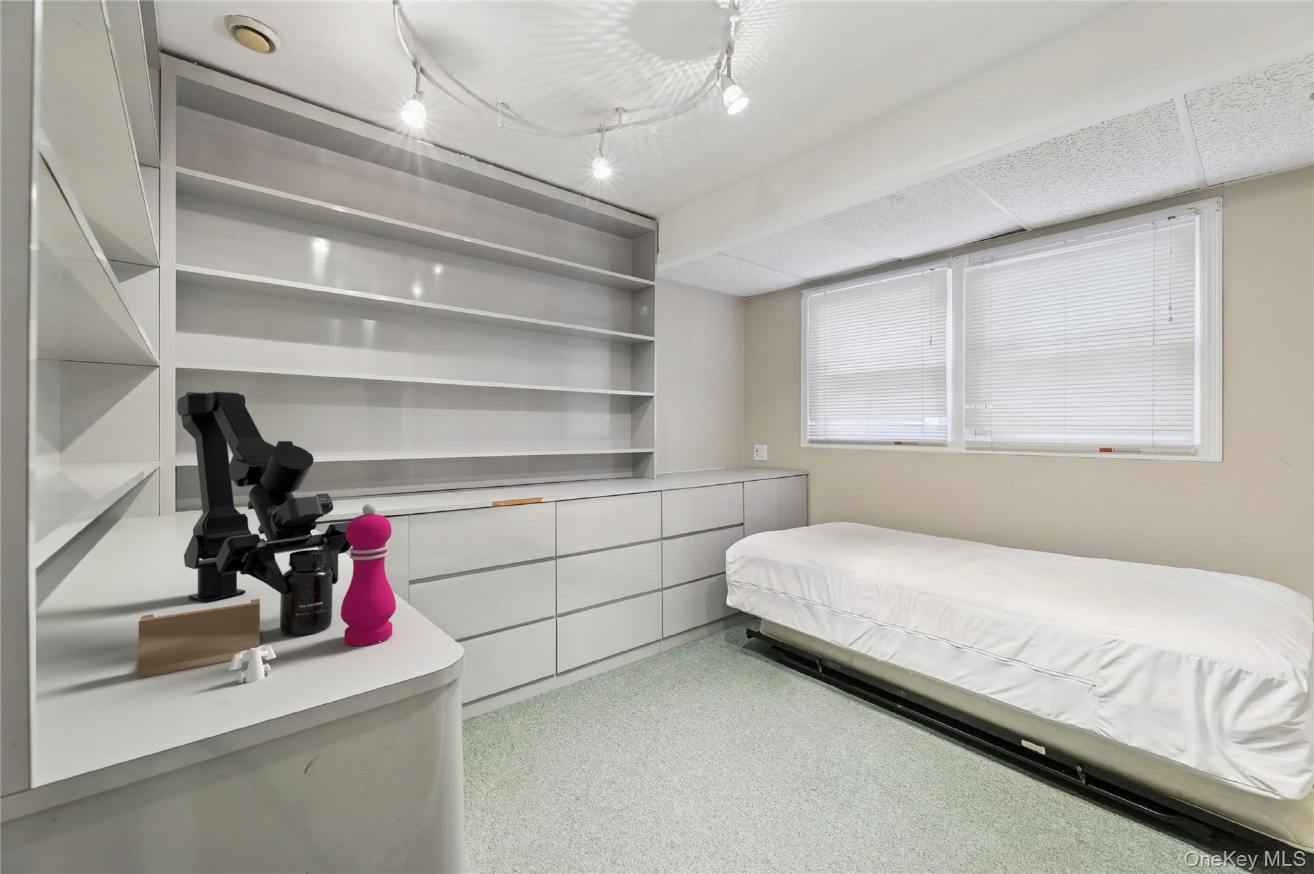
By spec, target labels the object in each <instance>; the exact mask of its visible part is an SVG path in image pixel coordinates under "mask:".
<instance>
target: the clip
mask: <svg viewBox="0 0 1314 874" xmlns="http://www.w3.org/2000/svg"><path fill="white" fill-rule="evenodd" d="M262 657H263V660H266V661H269V660H272V659H275V658H277V655H276V653H275V652H274V649H273V648H272V645H270V644H269V645H260V647H257V648H251V649H250V650H246V651H241V652H240V653H238V654H235V655H234V657H233V659H232V660H231V662H230V664H229V666H228V669H227V671H234V670H238V669H241V668H242V665H243V664H242V663H244V662H247V661H248V664H247V669H246V670H244V671H242V670H238V673H237V674H236V675H237V676H236V680H237V681H239V683H240V684H242V683H243V682H244V677H245V682H244V683H255V682H258V681H261V680H263V679H265V675H266V676H268V675H269V674H270V671H271V666H270V664H269V663H268V662H265V663H263V660H262Z"/></svg>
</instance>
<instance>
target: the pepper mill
mask: <svg viewBox="0 0 1314 874" xmlns="http://www.w3.org/2000/svg"><path fill="white" fill-rule="evenodd" d="M376 511H377V507H376V506H375V504H373V503H366V504H364V506H363V507H362V513H363V514H361V515H358V516H356V517H354V518H353V519H351V520H350V521H349V522H350V523H349V524H348V526H347V529H346V539H347V541H348V542H349V543H350V544H351V545H352V546H351V548H350V549H349V552H350V555H349V558H350V559H351V560H352V564H353V565H352V566H353V569H352V575H351V576H352V577H351V581H350V584H349V586H348V588H347V591H346V593H345V596H344V598H343V600H342V604H341V606H340V618H341V620H342V621H343V623H345V624H346V625H347V627H346V628H345V629H344V631H343V632H344V636H343V637H344V641H343V642H344V643H345V644H346V645H347V646H350V645H352V646H351V647H361V646H360V645H366V646H371V645H370V644H373V643H377V642H379V641H383V640H385V641H387V640H388V639H387V638H389V637H390V636H391V637H392V636H393V623H392V621H391V620H390V619H391V618H392V616H393V615H394V614H395V612H396V608H397V603H396V602H397V601H396V597H395V594H394V591H393V590H392V589H393V588H391V585H390V583H389V581H388V579H387V575H386V568H385V559H386V557H387V556H388V554H389V552H388V548H389V546H388V545H386V543H387V541H389V539H390V538H391V536H392V531H393V530H392V529H393V528H392V524H391V522H390V520H389V519H388V518H387V517H385V516H383V515H381V514H378V513H376ZM391 637H390V638H391ZM390 638H389V639H390ZM386 639H387V640H386ZM383 642H384V641H383ZM377 644H378V643H377ZM373 645H374V644H373Z"/></svg>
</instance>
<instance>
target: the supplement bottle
mask: <svg viewBox="0 0 1314 874" xmlns="http://www.w3.org/2000/svg"><path fill="white" fill-rule="evenodd" d="M288 559H289V562H288V566H289V567H290V569H288V570H286V571H285V572H284V573H282V574H283V576H284V578H285V581H286V583H287V586H288V590H289V591H288V593H287V595H282V594H281V593H280V597H279V598H280V605H279V631H280V633H281V634H282V635H284V636H290V637H292V636H293V637H296V636H306V635H307V636H308V635H312V634H316V633H320V632H322V631H324V630H327V629H328V628H330V626H331V625H332V621H333V619H332V618H333V591H334V589H333V586H334V584H333V573H332V571H331V569H330V568H328V567H326V566H324V563H326V551H325V550H319V549H304V550H298V551H292V552H289V558H288Z"/></svg>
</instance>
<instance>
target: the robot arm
mask: <svg viewBox="0 0 1314 874" xmlns="http://www.w3.org/2000/svg"><path fill="white" fill-rule="evenodd" d="M176 411H177V414H178V416H180V418H181V424H182V428H183V429H184V430H185V431H187V433H188V434H189V435H190V436H191V437H192V438H193V439H194V442H195V449H196V450H195V451H196V460H197V468H198V469H197V471H198V481H199V490H200V498H201V508H202V509H201V510H202V514H201V516H200V517H199V519H198V520H197V522H196V523H195V525H194V526H193V528H192V536H191V539H190V540H189V543H188V545H187V547H186V549H185V551H184V554H183V560H184V567H186V568H190V569H193V570H197V592H196V593H193V594H189V595H187V599H191V600H196V601H200V602H206V603H207V602H213V601H217V600H221V599H225V598H230V597H235V596H239V595H243V594H246V590H245V589H239V588H237V587H238V572H239V574H240V575H243V576H245V575H249V576H251V577H252V578H255V579H256V580H258V581H261V582H262V583H264V584H265V585H267V586H269V587H271V588H272V589H274V590H275V591H276V592H278V593H279V594H280V595H281V594H282V595H287V593H288V591H289V590H288V586H287V583H286V581H285V578H284V576H283V574H284V573H282V570H281V569H280V566H279V564H278V562H277V560H276V555H278V554H284V553H292V552H297V551H303V550H311V549H315V548H317V550H325V551H326V563H324V566H326V567H328V568H330V569H331V571H332V573H333V585H336V584H337V583H338V581H339V555H340V554H345V553H347V552H348V551H350V549H351V548H352V545H351V544H350V543H349V542H348V541H347V539H346V529H347V526H348V524H349V523H350V522H351V521H345V522H336V523H335V522H334V523H329V525H328V527H327V529H325V532H324V533H319V534H312V530H313V531H314V530H315V529H316V527H317V525H318V524H317V520H318V519H319V518H322V517H324V516H325V515H328V514H330V513H331V512H332V511H334V503H333V499H332V498H331V496H330V495H329V493H317V494H316V495H315V496H313V495H311V496H303V497H301V496H300V497H295V496H294V494H293V492H295V491H298V490H299V489H301V487H302V485H303V484H304V481H305V479H306V478H307V475H308V473H309V471H310V469H311V467H312V466H313V463H314V460H315V459H314V456H313V454H312V453H311V452H309V451H308V450H306V449H304V448H303V447H301V446H298V445H295V444H294V443H293V441H292V440H278V441H277V443H276V444H275V445H274V444H272V443H269V442H268V441H265V439H264V438H263V437H262V434H261V433H260V431H259V429H258V427H257V425H256V424H255V421H254V420H253V417H252V416H251V413H250V412H249V410H248V408H247V406H246V397H245V395H244V394H241V393H239V392H231V391H229V392H228V391H217V390H216V391H212V392H197V391H196V392H195V391H187V392H186V393H185V395H183V396H180V397H179V398H178V399H177V403H176ZM228 447H229V449H230V451H231V453H232V457H231V459H230V458H229V449H228ZM232 481H233V483H234V484H235V486H237V487H238V488H239V487H240V488H243V487H244V488H246V487H252V488H251V489H250V491H249V492H248V498H249V500H248V503H247V509H248V510H254V513H255V515H256V517H257V520H258V522H259V524H260V525H259V526H258V528H257V531H258V533H252V532H251V530H250V529H249V517H248V516H247V515H246V514H245V513H240V512H239V511H238V510H237V509H236V508H235V502H234V492H233V484H232ZM260 535H264V536H265V538H260Z"/></svg>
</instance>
